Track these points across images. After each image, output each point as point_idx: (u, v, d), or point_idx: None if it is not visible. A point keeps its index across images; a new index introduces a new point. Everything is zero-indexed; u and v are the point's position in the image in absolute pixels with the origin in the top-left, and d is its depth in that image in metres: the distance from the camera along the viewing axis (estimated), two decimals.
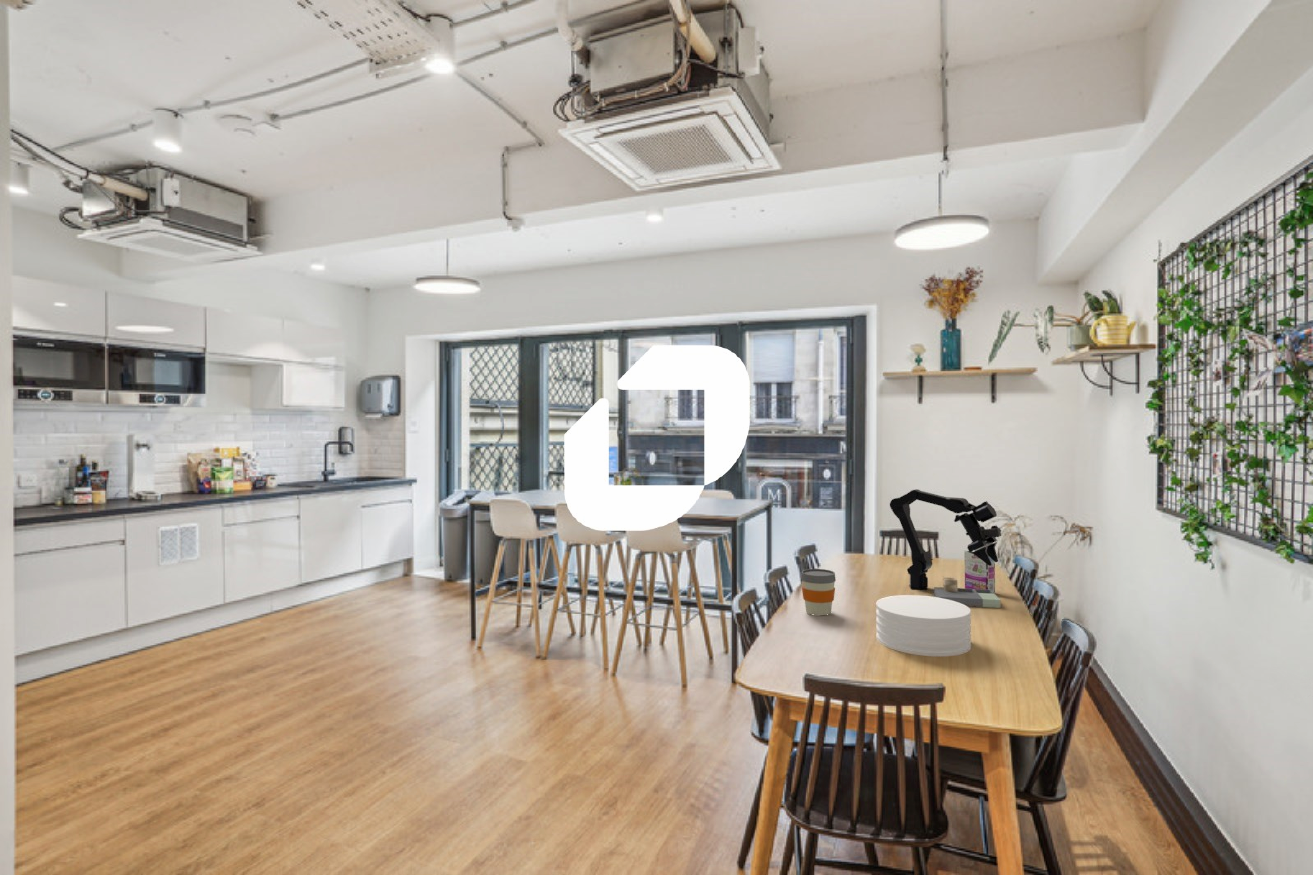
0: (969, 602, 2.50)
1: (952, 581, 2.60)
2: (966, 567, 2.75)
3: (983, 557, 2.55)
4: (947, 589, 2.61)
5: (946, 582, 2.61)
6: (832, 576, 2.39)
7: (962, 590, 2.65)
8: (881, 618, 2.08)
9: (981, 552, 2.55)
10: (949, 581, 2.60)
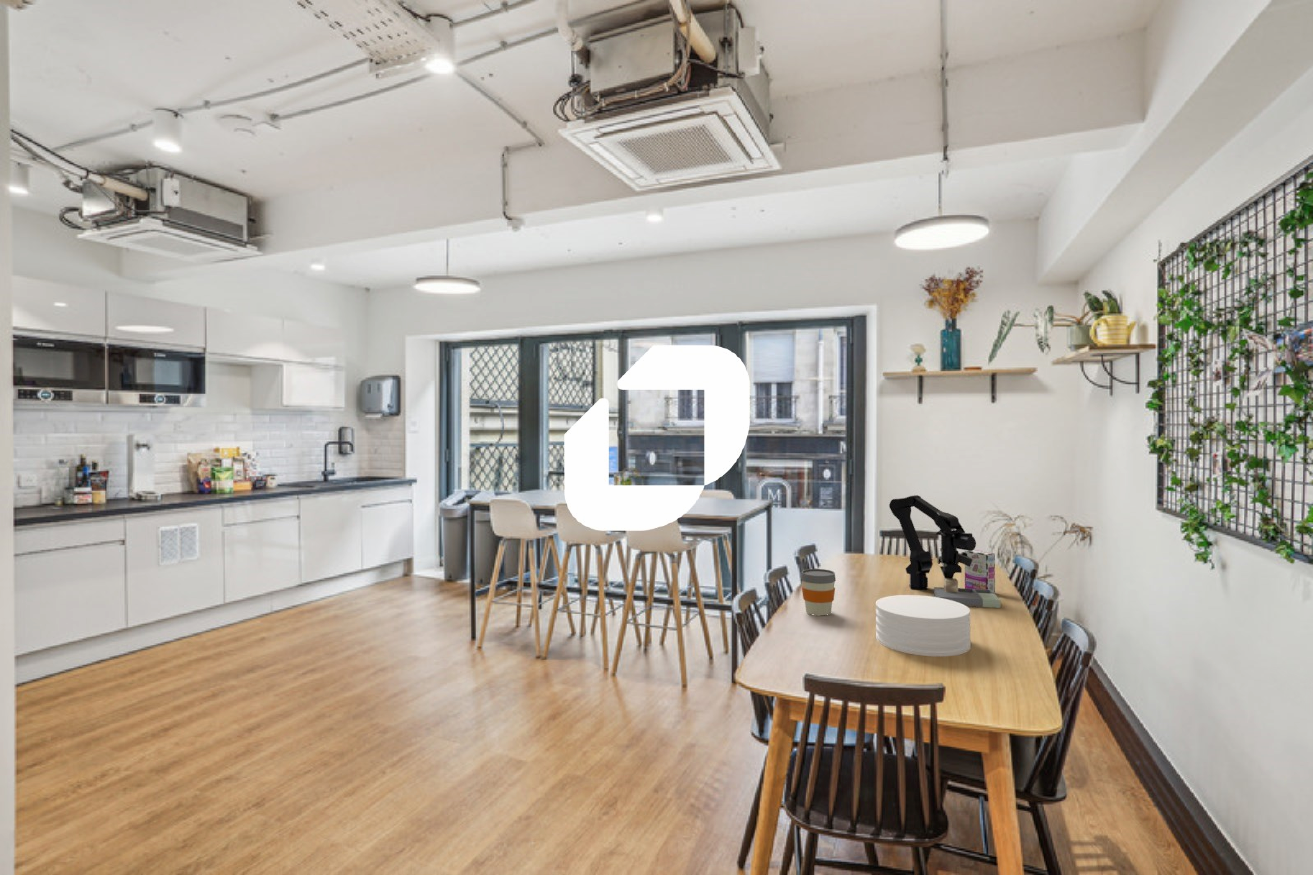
0: (969, 602, 2.50)
1: (953, 582, 2.59)
2: (966, 567, 2.75)
3: (948, 576, 2.64)
4: (948, 590, 2.59)
5: (947, 583, 2.60)
6: (832, 576, 2.39)
7: (962, 590, 2.65)
8: (881, 618, 2.08)
9: (949, 572, 2.64)
10: (950, 582, 2.59)
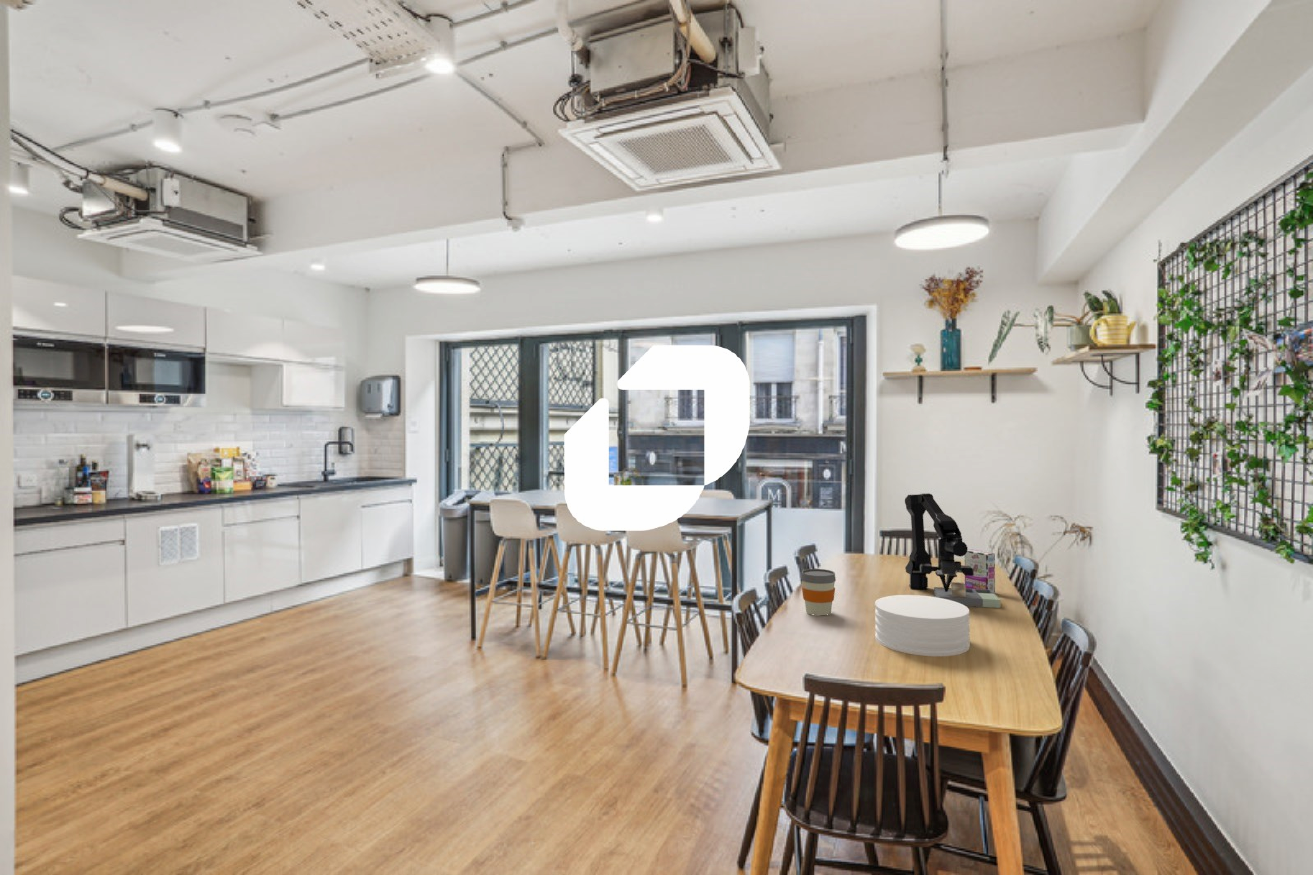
0: (969, 602, 2.50)
1: (960, 586, 2.52)
2: None
3: (942, 581, 2.57)
4: (955, 594, 2.53)
5: (954, 587, 2.53)
6: (832, 576, 2.39)
7: None
8: (880, 618, 2.08)
9: None
10: (957, 586, 2.52)
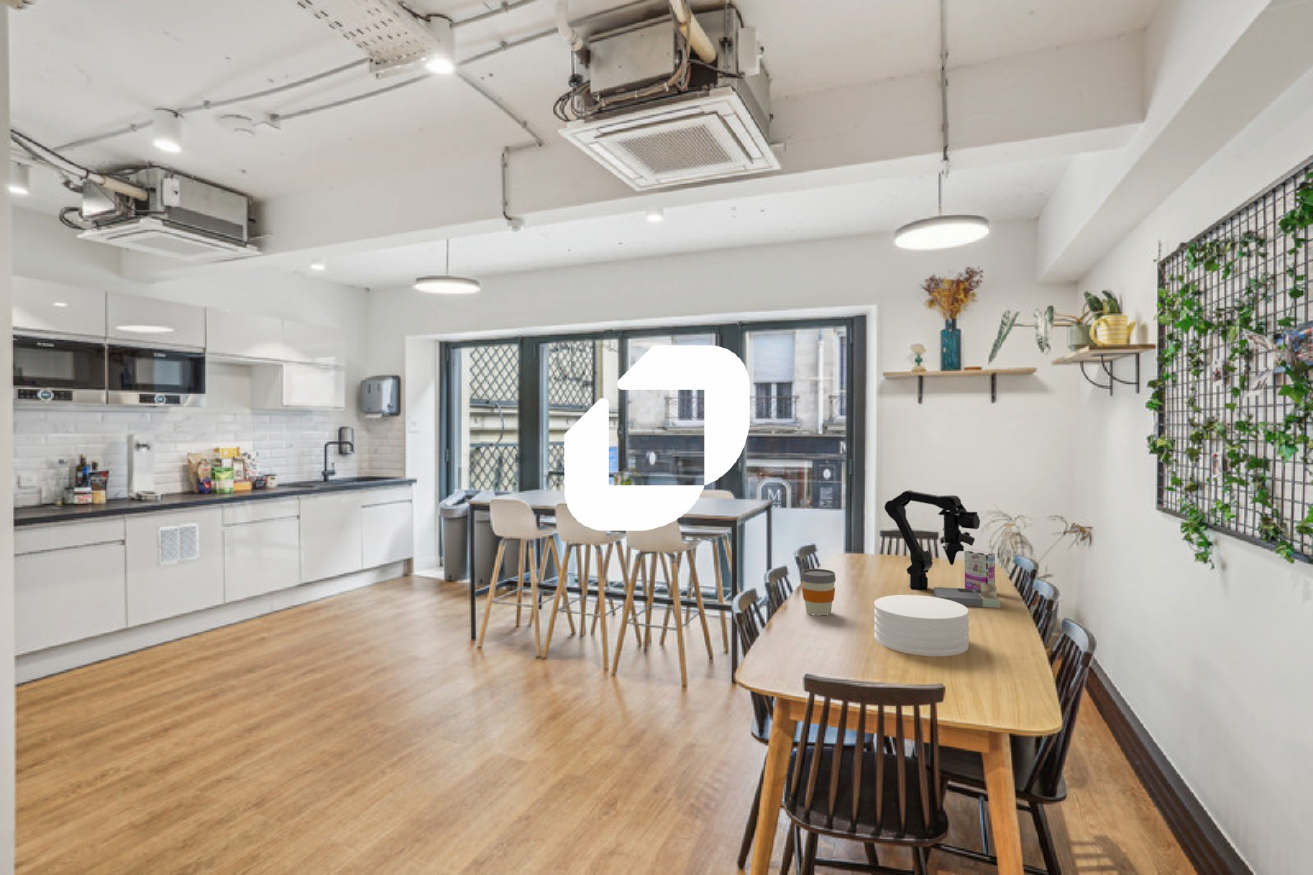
0: (969, 602, 2.50)
1: (991, 587, 2.49)
2: (966, 567, 2.75)
3: (950, 556, 2.66)
4: (986, 596, 2.50)
5: (984, 588, 2.50)
6: (832, 576, 2.39)
7: (962, 590, 2.65)
8: (879, 618, 2.08)
9: (951, 551, 2.66)
10: (988, 587, 2.50)
